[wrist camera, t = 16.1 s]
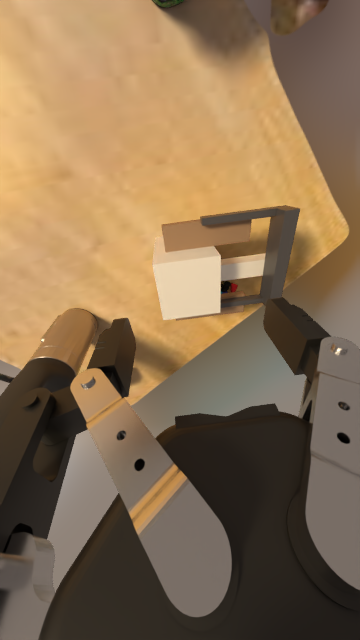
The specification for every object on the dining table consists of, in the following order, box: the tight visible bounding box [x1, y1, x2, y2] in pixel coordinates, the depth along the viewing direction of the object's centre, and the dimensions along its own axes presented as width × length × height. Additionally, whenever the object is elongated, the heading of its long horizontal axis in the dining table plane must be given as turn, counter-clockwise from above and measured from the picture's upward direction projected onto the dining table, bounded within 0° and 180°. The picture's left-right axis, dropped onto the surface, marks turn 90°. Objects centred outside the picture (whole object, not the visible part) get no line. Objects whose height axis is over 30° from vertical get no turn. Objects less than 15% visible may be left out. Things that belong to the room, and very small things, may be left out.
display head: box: [152, 219, 266, 321], centre depth 39 cm, size 22×18×17 cm
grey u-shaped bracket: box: [200, 205, 300, 308], centre depth 33 cm, size 13×16×4 cm
